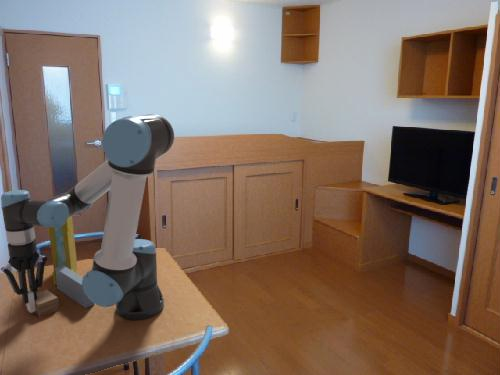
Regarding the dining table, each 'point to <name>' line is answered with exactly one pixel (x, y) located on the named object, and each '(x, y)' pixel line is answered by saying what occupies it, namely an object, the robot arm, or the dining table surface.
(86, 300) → the slate board
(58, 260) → the yellow rounded trough
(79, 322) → the dining table surface
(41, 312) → the brown rectangular block
